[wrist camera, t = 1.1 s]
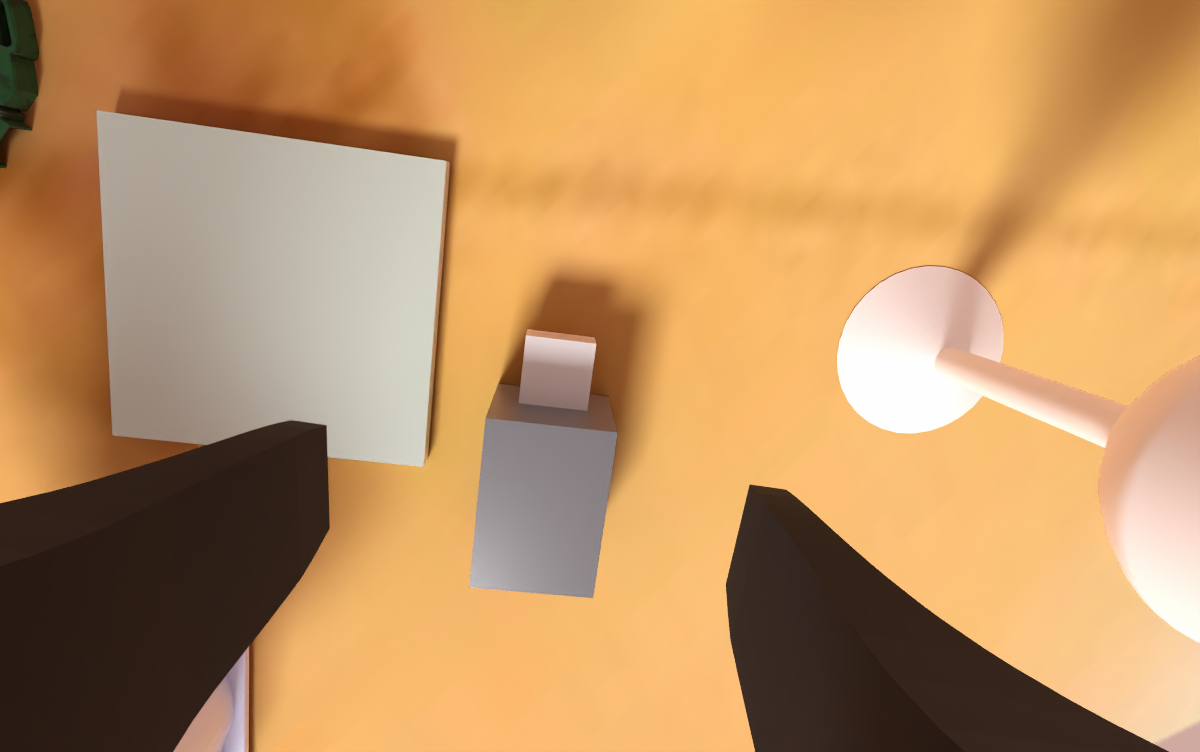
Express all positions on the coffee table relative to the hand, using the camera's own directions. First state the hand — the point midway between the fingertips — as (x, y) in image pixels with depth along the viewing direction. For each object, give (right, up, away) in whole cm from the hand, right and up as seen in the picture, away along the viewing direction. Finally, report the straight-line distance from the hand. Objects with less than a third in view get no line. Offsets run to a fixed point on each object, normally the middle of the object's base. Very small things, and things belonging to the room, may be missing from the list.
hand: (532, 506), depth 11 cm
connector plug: (-1, 0, +14) cm, 14 cm away
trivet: (-10, +5, +12) cm, 17 cm away
